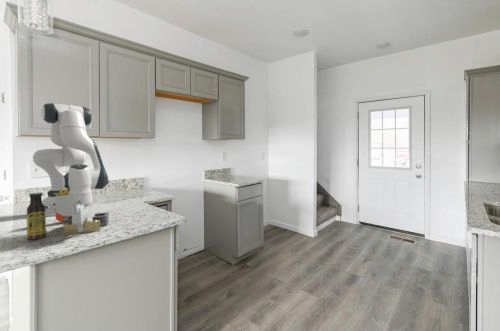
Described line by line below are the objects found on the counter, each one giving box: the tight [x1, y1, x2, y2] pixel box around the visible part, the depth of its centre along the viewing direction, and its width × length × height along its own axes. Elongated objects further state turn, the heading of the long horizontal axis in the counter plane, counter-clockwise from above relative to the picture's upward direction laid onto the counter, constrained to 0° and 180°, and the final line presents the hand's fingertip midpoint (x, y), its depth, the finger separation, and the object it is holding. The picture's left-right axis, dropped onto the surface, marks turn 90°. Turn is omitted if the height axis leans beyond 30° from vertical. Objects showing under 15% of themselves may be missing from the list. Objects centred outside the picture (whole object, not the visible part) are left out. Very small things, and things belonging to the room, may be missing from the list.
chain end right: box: [92, 212, 110, 227], centre depth 126 cm, size 6×8×5 cm
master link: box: [62, 219, 102, 236], centre depth 115 cm, size 14×3×5 cm, turn 113°
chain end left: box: [62, 216, 72, 231], centre depth 121 cm, size 6×8×5 cm
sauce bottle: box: [26, 192, 47, 240], centre depth 107 cm, size 6×6×20 cm
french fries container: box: [55, 189, 73, 224], centre depth 130 cm, size 5×11×18 cm, turn 136°
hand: (82, 228), depth 115 cm, fingers open, 6 cm apart
